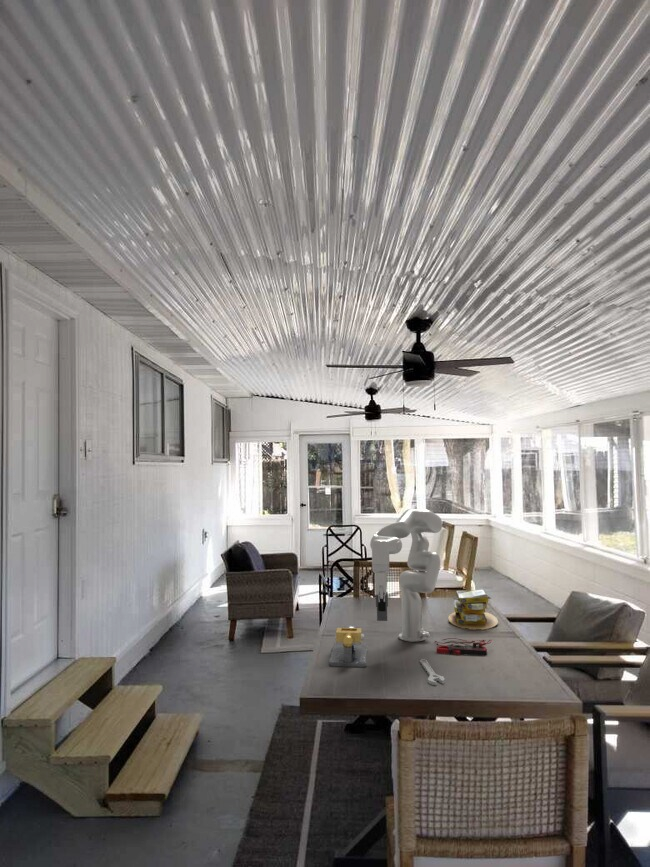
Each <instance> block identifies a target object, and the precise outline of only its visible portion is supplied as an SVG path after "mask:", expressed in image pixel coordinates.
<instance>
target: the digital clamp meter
mask: <svg viewBox="0 0 650 867" xmlns="http://www.w3.org/2000/svg"><path fill="white" fill-rule="evenodd" d="M445 640H448V641H446V642H440V641H438V640H434V642H436V645H438V646H437V647H436V653H437V654H444V653H445V654H446V655H457V656H459V655H464V654H467V656H468V655H469V656H487V655H488V649H487V647H485V646H486V645H488V644H491V643H492V639H490V640H485V639H482V640H479V639H478V641H480V642H475V641H476V640H471V642H467V640H465V639H461V638H456V637H447V638H443V639H442V641H445ZM449 640H450V641H449ZM454 640H455V641H454ZM456 640H460V641H456ZM450 643H451V644H450ZM471 643H473V644H472V645H469V644H471ZM445 644H446V645H445ZM459 644H461V645H459Z"/></svg>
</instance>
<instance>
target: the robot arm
mask: <svg viewBox="0 0 650 867" xmlns="http://www.w3.org/2000/svg"><path fill="white" fill-rule="evenodd" d="M442 529H443V521H442V518H441V517H440V516H439V515H438V514H436V513H435V512H433V511H431V510H429V509H426V508H425V509H424V508H409V509H408V508H407V509H406V510H405V511H404V512H403V513H402V514H401V515H400V517H399V518H398V519H397V520H396V521H395V522H393V523H390V524H388V525H386V526H384V527H382V528H380V529H378V530H377V531H376V532H375V533H374V534H373V535H372V537H371V539H370V543H369V547H370V549H371V561H372V562H371V566H372V572H373V573H374V595H375V597H376V596H377V595H378V596H379V602H378V611H386V602H385V595H386V592H388V591H387V589H388V573H389V572H390V568H391V567H390V555H396V554H399V553H400V552H401V550H402V548H403V543H402V540H401V539H405V538H407V537H409V536H411V540H412V541H411V546H410V549H409V554H408V557H407V567H408V568H410V569H411V570H409V569H408V570H404V571H402V572H401V573H400V574H399V576H398V584H399V587H400V595H401V596H400V597H401V600H400V601H401V632H400V633H399V634H398V639H400V640H402V641H405V642H408V643H409V642H410V643H411V642H412V643H414V642H417V643H418V642H424V640H426V638H430V637H431V634H430V632H428V631H425V628H423V615H422V614H423V611H422V610H423V606H422V603H423V602H422V598H421V596H420V594H419V593H424V594H431V593H433V592H434V591H435V589H436V586H437V582H438V577H439V572H440V569H441V557H440V555H439V554H438V553H437V552H435V551H429V548H430V542H429V539H428V538H427V536H426V535H425V534H424V533H430V534H438V533H440V532H441V531H442ZM379 594H380V595H379ZM383 594H384V595H383Z"/></svg>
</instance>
